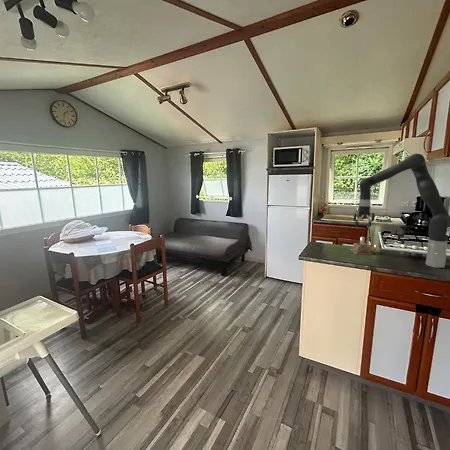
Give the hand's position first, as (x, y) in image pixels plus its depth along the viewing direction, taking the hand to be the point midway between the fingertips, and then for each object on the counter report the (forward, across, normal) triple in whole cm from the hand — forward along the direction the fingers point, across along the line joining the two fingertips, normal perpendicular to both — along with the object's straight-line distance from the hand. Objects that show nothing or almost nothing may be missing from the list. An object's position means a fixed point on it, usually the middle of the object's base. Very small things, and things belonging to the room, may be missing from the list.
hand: (363, 226), depth 192 cm
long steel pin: (+20, 0, 0) cm, 20 cm away
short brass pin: (+20, +10, 0) cm, 23 cm away
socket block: (+20, 0, 0) cm, 20 cm away
